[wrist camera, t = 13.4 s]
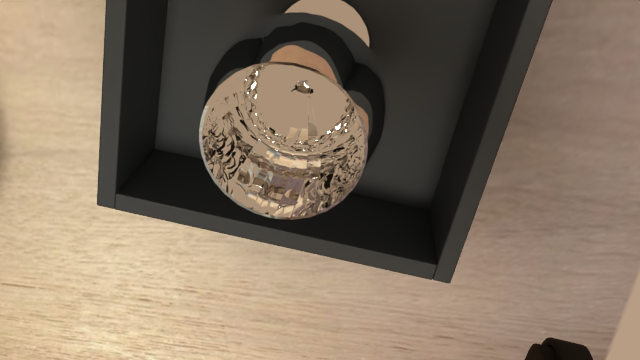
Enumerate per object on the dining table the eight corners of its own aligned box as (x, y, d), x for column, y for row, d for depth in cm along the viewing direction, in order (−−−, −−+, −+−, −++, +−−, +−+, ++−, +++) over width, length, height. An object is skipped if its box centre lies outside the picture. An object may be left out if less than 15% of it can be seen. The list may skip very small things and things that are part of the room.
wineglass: (342, 128, 29) (318, 269, 18) (236, 64, 28) (145, 172, 17) (411, 24, 27) (432, 114, 16) (298, -49, 26) (238, -6, 15)
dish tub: (549, -109, 24) (592, -108, 19) (438, 221, 31) (450, 284, 26) (169, -194, 24) (115, -216, 19) (142, 154, 31) (96, 205, 26)
